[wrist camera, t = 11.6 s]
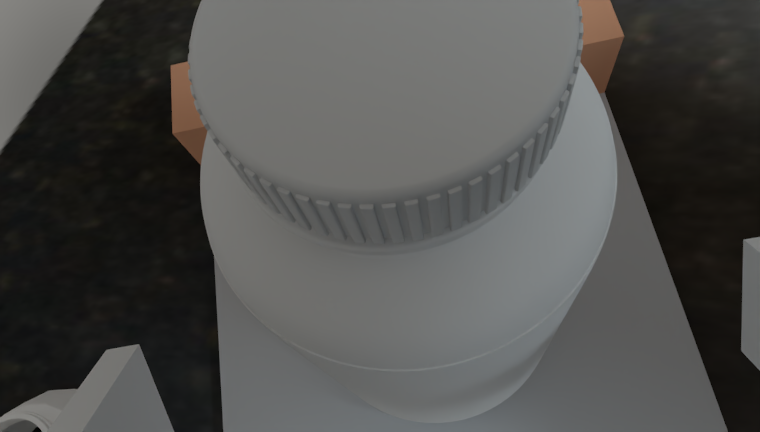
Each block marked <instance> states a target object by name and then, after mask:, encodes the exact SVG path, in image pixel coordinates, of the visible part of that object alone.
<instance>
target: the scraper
mask: <svg viewBox="0 0 760 432" xmlns="http://www.w3.org/2000/svg"><path fill="white" fill-rule="evenodd" d="M578 6H581V9H582V20H581V22H582V23H583V37H582V40H583V48H582V53H581V60H580V62H581V64H582V65H583V67H584V68H585V69H586V71H587V73H588V74H589V76H590V77H591V79H592V81H593V83H594V85H595V86H596V88H597V90H598V93H599V95H600V97H601V99H602V102H603V104H604V107H605V109H606V112H607V115H608V119H609V122H610V126H611V130H612V135H613V140H614V145H615V151H616V159H617V192H616V200H615V206H614V211H613V216H612V219H611V223H610V227H609V230H608V233H607V236H606V239H605V241H604V244H603V246H602V249H601V251H600V253H599V256H598V258H597V260H596V262H595V264H594V266H593V268H592V270H591V271H590V273H589V275H588V277H587V279H586V280H585V282H584V284H583V286H582V287H581V289H580V291H579V293H578V294H577V296H576V298H575V300H574V301H573V303H572V305H571V307H570V308H569V310H568V312H567V314H566V315H565V317H564V319H563V321H562V323H561V324H560V326H559V328H558V330H557V331H556V333H555V335H554V337H553V338H552V340H551V342H550V344H549V345H548V347H547V349H546V351H545V352H544V354H543V356H542V358H541V359H540V361H539V363H538V365H537V366H536V368H535V369H534V371H533V372H532V374H531V375H530V377H529V378H528V379H527V380H526V381H525V383H524V384H523V385H522V386H521V387H520V388H519V389H518V390H517V391H516V392H515V393H514V394H512V395H511V396H510V397H509V398H507V399H506V400H505V401H503V402H502V403H500V404H499V405H497V406H496V407H494V408H492V409H490V410H488V411H486V412H484V413H482V414H479V415H477V416H474V417H471V418H467V419H464V420H459V421H454V422H446V423H422V422H415V421H409V420H405V419H401V418H398V417H395V416H392V415H389V414H387V413H385V412H382V411H380V410H378V409H377V408H375V407H373V406H371V405H370V404H368V403H367V402H365V401H364V400H362V399H361V398H360V397H358V396H357V395H356V394H354V393H353V392H352V391H350V390H349V389H348V388H346V387H345V386H344V385H342V384H341V383H339V382H338V381H337V380H335V379H334V378H333V377H331V376H330V375H329V374H327V373H326V372H325V371H323V370H322V369H321V368H319V367H318V366H317V365H315V364H314V363H313V362H311V361H310V360H308V359H307V358H306V357H304V356H303V355H302V354H300V353H299V352H298V351H296V350H295V349H294V348H292V347H291V346H290V345H288V344H287V343H286V342H284V341H283V340H282V339H280V338H279V337H278V336H276V335H275V334H274V333H273V332H271V331H270V330H269V329H268V328H267V327H266V326H264V325H263V324H262V323H261V322H260V321H259V320H258V319H257V318H256V317H255V316H254V315H253V314H252V313H251V312H250V311H249V310H248V309H247V308H246V306H245V305H244V304H243V303H242V302H241V300H240V299H239V298H238V297H237V295H236V294H235V293H234V291H233V290H232V288H231V287H230V285H229V284H228V282H227V281H226V279H225V277H224V275H223V274H222V272H221V270H220V268H219V266H218V264H217V261H216V259H215V257H214V264H215V283H216V302H217V321H218V340H219V359H220V377H221V396H222V415H223V432H728V430H727V428H726V425H725V422H724V419H723V417H722V414H721V411H720V408H719V406H718V403H717V400H716V397H715V395H714V392H713V389H712V386H711V384H710V381H709V378H708V375H707V373H706V370H705V367H704V364H703V362H702V359H701V356H700V353H699V351H698V348H697V345H696V342H695V340H694V337H693V334H692V331H691V329H690V326H689V323H688V320H687V318H686V315H685V312H684V309H683V307H682V304H681V301H680V298H679V296H678V293H677V290H676V287H675V285H674V282H673V279H672V276H671V274H670V271H669V268H668V265H667V263H666V260H665V257H664V254H663V252H662V249H661V246H660V243H659V241H658V238H657V235H656V232H655V230H654V227H653V224H652V221H651V219H650V216H649V213H648V210H647V208H646V205H645V202H644V199H643V197H642V194H641V191H640V189H639V186H638V183H637V180H636V178H635V175H634V172H633V169H632V167H631V164H630V161H629V158H628V156H627V153H626V150H625V147H624V145H623V142H622V139H621V136H620V134H619V131H618V128H617V125H616V123H615V120H614V117H613V114H612V112H611V109H610V106H609V103H608V101H607V98H606V95H605V90H606V87H607V84H608V81H609V78H610V76H611V73H612V70H613V67H614V64H615V61H616V58H617V55H618V53H619V50H620V47H621V44H622V41H623V38H624V34H623V32H622V29H621V27H620V24H619V22H618V19H617V17H616V14H615V12H614V9H613V7H612V4H611V2H610V0H579V3H578ZM189 69H190V66H189V64H188V62H184V63H179V64H175V65H171V97H172V134H173V135H174V136H175V137H176V138H177V139H178V140H179V141H180V143H181V144H182V145H183V146H184V147H185V148H186V149H187V150H188V152H189V153H190V154H191V155H192V156H193V157H194V158H195V159H196V161H197V162H198V163H199V164H200V165H201V160H202V154H203V148H204V143H205V139H206V135H207V129H206V128H205V127H204V125H203V123H202V121H201V119H200V114H199V113H198V112H197V110H196V107H195V104H194V101H195V99H194V97H193V96H192V94H191V89H190V85H192V83H191V82H190V80H189V76H188V70H189Z"/></svg>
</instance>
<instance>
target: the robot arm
mask: <svg viewBox="0 0 760 432" xmlns="http://www.w3.org/2000/svg"><path fill="white" fill-rule="evenodd" d="M741 351H742V352H743V353H744V354H745V356H746V357H747V358H748V359H749V360H750V361H751V362H752V363H753V364H754V365H755V366H756V367H757V368H758V369H759V370H760V237H756V238H750V239H745V240H743V279H742V331H741ZM47 432H174V430H173V427H172V425H171V423H170V420H169V418H168V415H167V413H166V410H165V408H164V405H163V403H162V400H161V398H160V395H159V393H158V390H157V388H156V385H155V383H154V380H153V378H152V375H151V373H150V370H149V368H148V365H147V363H146V360H145V358H144V355H143V353H142V350H141V348H140V345H139V344H137V345H131V346H125V347H120V348H114V349H108V350H106V351H105V352H104V354H103V355H102V357H101V358H100V359H99V361H98V362H97V363H96V365H95V366H94V368H93V369H92V370H91V372H90V373H89V374H88V376H87V377H86V378H85V380H84V381H83V383H82V384H81V385H80V387H79V388H78V389H77V391H76V392H75V394H74V395H73V396H72V398H71V399H70V400H69V402H68V403H67V405H66V406H65V407H64V409H63V410H62V411H61V413H60V414H59V415H58V417H57V418H56V420H55V421H54V422H53V424H52V425H51V426H50V428H49V429H48V431H47Z"/></svg>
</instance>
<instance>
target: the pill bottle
mask: <svg viewBox="0 0 760 432" xmlns="http://www.w3.org/2000/svg"><path fill="white" fill-rule="evenodd" d="M578 3H579V0H202V1H201V3H200V5H199V8H198V11H197V14H196V17H195V20H194V24H193V28H192V33H191V38H190V43H189V49H190V52H189V54H188V64H189V66H190V69H189V70H188V76H189V80H190V82H191V83H192V85H190V89H191V94H192V96H193V97H194V99H195V101H194V104H195V107H196V110H197V112H198V113H199V114H200V119H201V121H202V123H203V125H204V127H205V128H206V129H207V135H206V139H205V143H204V148H203V154H202V160H201V171H200V195H201V205H202V212H203V218H204V223H205V227H206V231H207V235H208V239H209V242H210V246H211V249H212V251H213V254H214V257H215V259H216V261H217V264H218V266H219V268H220V270H221V272H222V274H223V275H224V277H225V279H226V281H227V282H228V284H229V285H230V287H231V288H232V290H233V291H234V293H235V294H236V295H237V297H238V298H239V299H240V300H241V302H242V303H243V304H244V305H245V306H246V308H247V309H248V310H249V311H250V312H251V313H252V314H253V315H254V316H255V317H256V318H257V319H258V320H259V321H260V322H261V323H262V324H263V325H264V326H266V327H267V328H268V329H269V330H270V331H271V332H273V333H274V334H275V335H276V336H278V337H279V338H280V339H282V340H283V341H284V342H286V343H287V344H288V345H290V346H291V347H292V348H294V349H295V350H296V351H298V352H299V353H300V354H302V355H303V356H304V357H306V358H307V359H308V360H310V361H311V362H313V363H314V364H315V365H317V366H318V367H319V368H321V369H322V370H323V371H325V372H326V373H327V374H329V375H330V376H331V377H333V378H334V379H335V380H337V381H338V382H339V383H341V384H342V385H344V386H345V387H346V388H348V389H349V390H350V391H352V392H353V393H354V394H356V395H357V396H358V397H360V398H361V399H362V400H364V401H365V402H367V403H368V404H370V405H371V406H373V407H375V408H377V409H378V410H380V411H382V412H385V413H387V414H389V415H392V416H395V417H398V418H401V419H405V420H409V421H415V422H422V423H446V422H454V421H459V420H464V419H467V418H471V417H474V416H477V415H479V414H482V413H484V412H486V411H488V410H490V409H492V408H494V407H496V406H497V405H499V404H500V403H502V402H503V401H505V400H506V399H507V398H509V397H510V396H511V395H512V394H514V393H515V392H516V391H517V390H518V389H519V388H520V387H521V386H522V385H523V384H524V383H525V381H526V380H527V379H528V378H529V377H530V375H531V374H532V372H533V371H534V369H535V368H536V366H537V365H538V363H539V361H540V359H541V358H542V356H543V354H544V352H545V351H546V349H547V347H548V345H549V344H550V342H551V340H552V338H553V337H554V335H555V333H556V331H557V330H558V328H559V326H560V324H561V323H562V321H563V319H564V317H565V315H566V314H567V312H568V310H569V308H570V307H571V305H572V303H573V301H574V300H575V298H576V296H577V294H578V293H579V291H580V289H581V287H582V286H583V284H584V282H585V280H586V279H587V277H588V275H589V273H590V271H591V270H592V268H593V266H594V264H595V262H596V260H597V258H598V256H599V253H600V251H601V249H602V246H603V244H604V241H605V239H606V236H607V233H608V230H609V227H610V223H611V219H612V216H613V211H614V206H615V200H616V192H617V159H616V151H615V145H614V140H613V135H612V130H611V126H610V122H609V119H608V115H607V112H606V109H605V107H604V104H603V102H602V99H601V97H600V95H599V93H598V90H597V88H596V86H595V85H594V83H593V81H592V79H591V77H590V76H589V74H588V73H587V71H586V69H585V68H584V67H583V65H582V64H581V62H580V60H581V53H582V48H583V40H582V37H583V23H582V22H581V20H582V9H581V6H578Z"/></svg>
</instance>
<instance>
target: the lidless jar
mask: <svg viewBox="0 0 760 432" xmlns="http://www.w3.org/2000/svg"><path fill="white" fill-rule="evenodd" d="M76 391H77V389H64V390H49V391H47V392H45V393H43V394H41V395H39V396H37V397H35V398H33V399H31V400H29V401H27V402H25V403H23V404H21V405H19V406H18V407H16V408H14V409H12V410H11V411H9V412H7V413H6V414H4V415H3V416H2V417H0V432H32V431H33V430H34V429H35V428H36V427H37V426H38V427H39V428H40V430H41V431H42V432H47V431H48V429H49V428H50V426H51V425H52V424H53V422H54V421H55V420H56V418H57V417H58V415H59V414H60V413H61V411H62V410H63V409H64V407H65V406H66V405H67V403H68V402H69V400H70V399H71V398H72V396H73V395H74V394H75V392H76Z"/></svg>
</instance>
